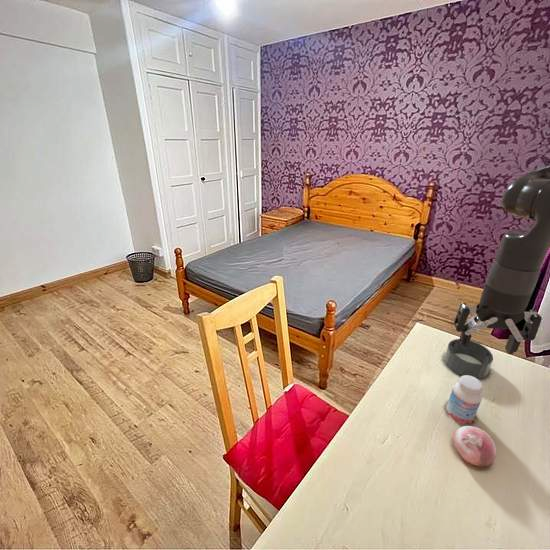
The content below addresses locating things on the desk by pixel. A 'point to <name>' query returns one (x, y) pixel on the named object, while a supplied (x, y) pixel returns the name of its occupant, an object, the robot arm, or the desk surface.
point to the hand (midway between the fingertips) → (485, 348)
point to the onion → (474, 445)
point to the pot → (464, 366)
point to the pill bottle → (465, 399)
